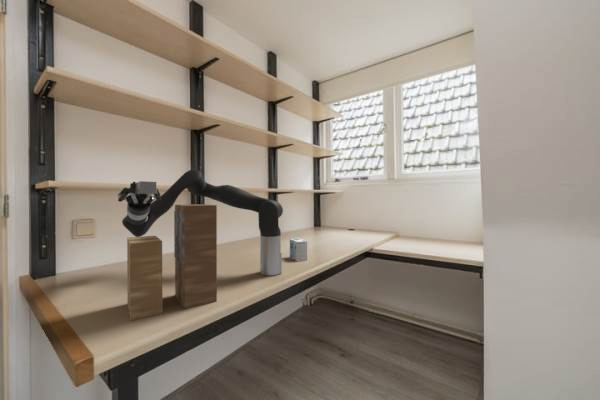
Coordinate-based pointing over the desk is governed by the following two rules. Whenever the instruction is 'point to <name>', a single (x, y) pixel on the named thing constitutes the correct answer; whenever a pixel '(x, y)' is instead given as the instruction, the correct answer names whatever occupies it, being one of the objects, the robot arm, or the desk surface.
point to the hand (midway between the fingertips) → (142, 184)
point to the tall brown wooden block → (195, 254)
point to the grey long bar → (145, 187)
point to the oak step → (144, 276)
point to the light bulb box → (298, 249)
